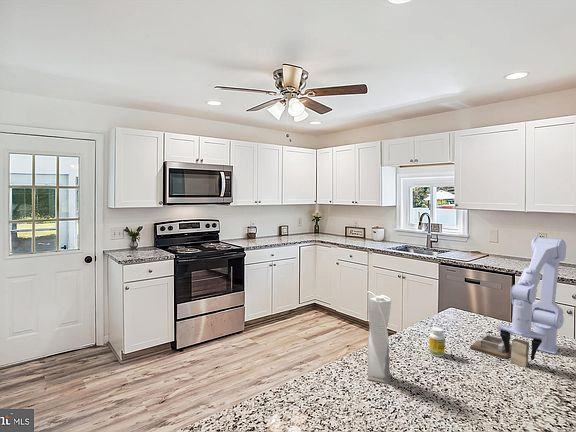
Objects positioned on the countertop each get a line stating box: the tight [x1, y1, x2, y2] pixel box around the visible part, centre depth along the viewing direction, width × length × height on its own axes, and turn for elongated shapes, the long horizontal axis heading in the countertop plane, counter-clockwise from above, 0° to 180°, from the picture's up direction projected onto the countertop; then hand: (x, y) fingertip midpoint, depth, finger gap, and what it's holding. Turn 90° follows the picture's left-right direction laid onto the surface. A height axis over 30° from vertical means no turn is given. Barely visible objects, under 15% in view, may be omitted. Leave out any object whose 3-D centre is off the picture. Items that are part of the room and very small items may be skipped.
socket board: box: [469, 333, 512, 360], centre depth 140 cm, size 14×12×4 cm
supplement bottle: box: [428, 326, 446, 358], centre depth 135 cm, size 5×5×10 cm
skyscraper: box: [366, 290, 392, 385], centre depth 117 cm, size 8×8×28 cm
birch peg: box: [510, 338, 530, 368], centre depth 128 cm, size 4×4×8 cm
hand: (519, 355), depth 128 cm, fingers open, 7 cm apart
